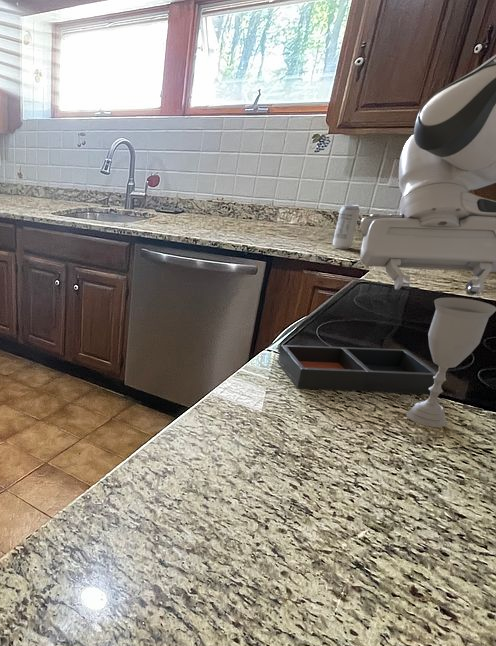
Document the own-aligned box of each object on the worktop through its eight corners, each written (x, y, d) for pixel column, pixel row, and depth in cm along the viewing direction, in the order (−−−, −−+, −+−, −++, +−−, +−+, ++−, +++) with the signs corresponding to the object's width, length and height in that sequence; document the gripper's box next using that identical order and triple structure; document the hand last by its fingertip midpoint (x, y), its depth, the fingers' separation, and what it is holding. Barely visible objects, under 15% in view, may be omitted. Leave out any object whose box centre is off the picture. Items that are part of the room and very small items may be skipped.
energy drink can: (354, 248, 189) (365, 205, 183) (340, 249, 188) (350, 206, 182) (341, 245, 195) (351, 203, 189) (328, 246, 194) (337, 204, 188)
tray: (400, 367, 96) (406, 349, 95) (435, 394, 86) (442, 375, 85) (277, 362, 99) (280, 344, 98) (297, 388, 89) (301, 369, 88)
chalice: (408, 402, 84) (442, 294, 77) (460, 418, 79) (502, 304, 72) (391, 418, 80) (426, 304, 72) (446, 435, 75) (489, 316, 68)
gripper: (367, 201, 85) (367, 275, 81) (522, 204, 79) (532, 284, 75) (354, 225, 91) (354, 295, 86) (498, 229, 85) (506, 305, 80)
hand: (438, 290), depth 80 cm, fingers open, 8 cm apart
